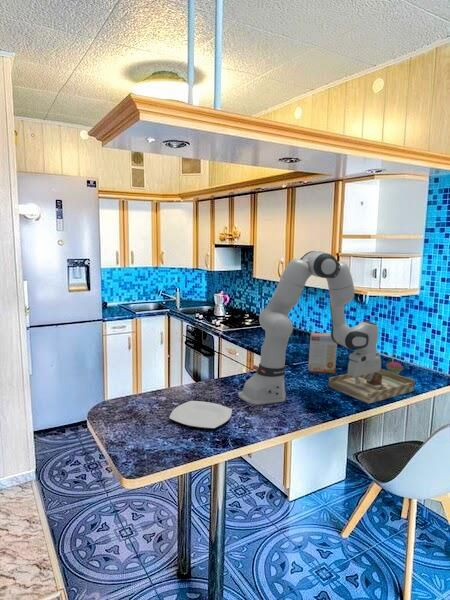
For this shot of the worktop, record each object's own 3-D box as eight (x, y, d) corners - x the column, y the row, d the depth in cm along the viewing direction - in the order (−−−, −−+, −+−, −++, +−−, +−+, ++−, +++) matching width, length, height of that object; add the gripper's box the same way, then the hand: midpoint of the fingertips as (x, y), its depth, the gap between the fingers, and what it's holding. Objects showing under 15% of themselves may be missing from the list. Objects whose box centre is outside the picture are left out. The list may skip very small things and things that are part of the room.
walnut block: (374, 385, 204) (376, 375, 203) (366, 382, 208) (367, 372, 207) (381, 384, 207) (382, 374, 206) (372, 381, 211) (374, 371, 210)
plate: (188, 402, 181) (188, 397, 181) (238, 412, 173) (238, 408, 173) (161, 423, 160) (161, 418, 160) (217, 436, 152) (217, 431, 152)
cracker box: (333, 370, 233) (336, 333, 229) (335, 374, 227) (338, 336, 223) (307, 368, 234) (310, 331, 231) (308, 372, 228) (311, 334, 225)
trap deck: (368, 403, 188) (369, 392, 187) (328, 386, 207) (329, 375, 207) (413, 391, 206) (415, 380, 205) (372, 376, 226) (373, 366, 225)
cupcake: (385, 375, 227) (387, 354, 226) (385, 371, 235) (387, 350, 234) (402, 378, 225) (405, 356, 223) (401, 373, 233) (403, 352, 231)
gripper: (374, 350, 208) (372, 377, 211) (346, 355, 197) (344, 383, 200) (385, 353, 203) (382, 381, 205) (357, 359, 192) (354, 388, 194)
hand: (363, 382), depth 202 cm, fingers open, 7 cm apart
